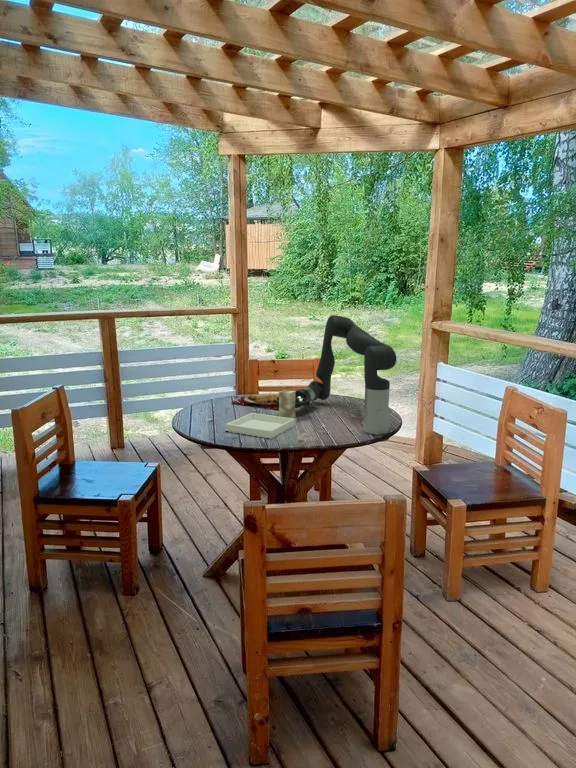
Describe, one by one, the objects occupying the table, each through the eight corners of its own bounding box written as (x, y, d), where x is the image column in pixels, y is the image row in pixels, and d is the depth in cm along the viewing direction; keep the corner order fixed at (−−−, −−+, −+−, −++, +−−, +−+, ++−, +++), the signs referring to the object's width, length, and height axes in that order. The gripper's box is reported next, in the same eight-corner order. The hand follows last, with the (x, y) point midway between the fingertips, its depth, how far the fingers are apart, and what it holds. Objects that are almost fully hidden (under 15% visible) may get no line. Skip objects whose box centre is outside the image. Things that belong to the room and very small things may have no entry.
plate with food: (280, 412, 243) (281, 404, 243) (230, 404, 255) (230, 396, 254) (305, 402, 265) (305, 395, 264) (257, 395, 277) (258, 388, 276)
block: (295, 419, 229) (295, 391, 227) (289, 422, 225) (289, 393, 223) (284, 417, 232) (284, 389, 229) (278, 420, 227) (279, 392, 225)
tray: (295, 426, 219) (295, 418, 218) (271, 439, 202) (271, 431, 201) (252, 419, 228) (251, 412, 227) (225, 431, 211) (225, 424, 210)
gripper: (289, 387, 243) (271, 394, 229) (318, 390, 237) (302, 397, 222) (288, 403, 244) (271, 411, 230) (318, 407, 238) (301, 415, 224)
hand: (286, 404), depth 226 cm, fingers open, 8 cm apart
